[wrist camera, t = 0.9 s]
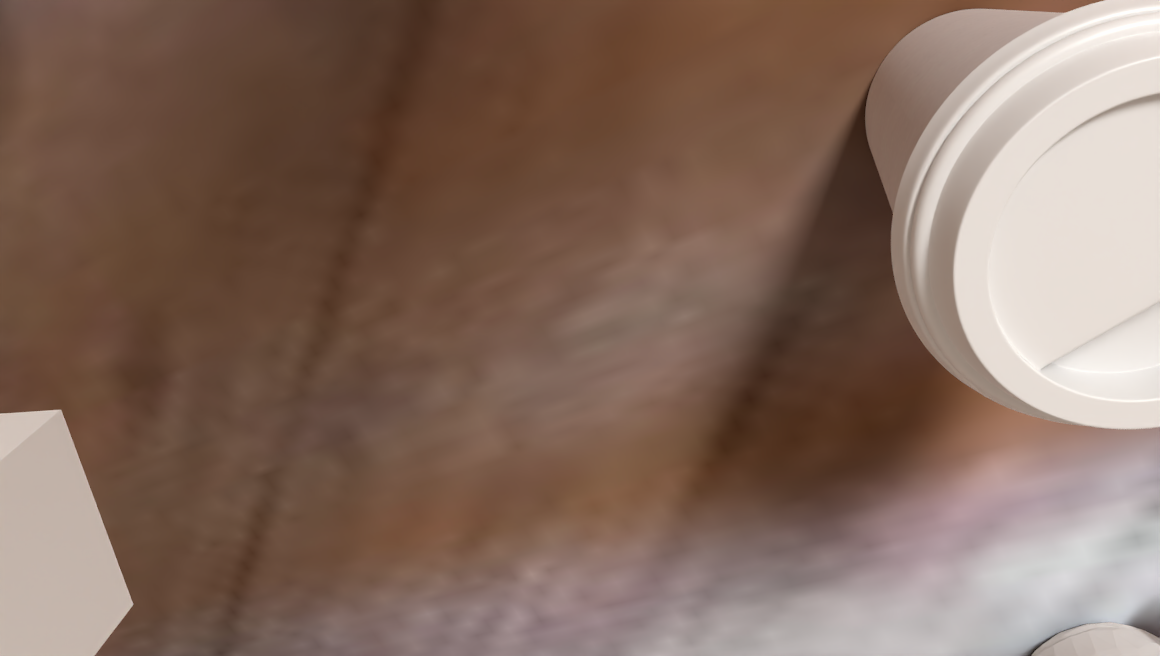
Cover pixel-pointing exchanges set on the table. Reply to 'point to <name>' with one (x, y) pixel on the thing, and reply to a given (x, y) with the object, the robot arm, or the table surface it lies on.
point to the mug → (1101, 641)
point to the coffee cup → (1030, 204)
